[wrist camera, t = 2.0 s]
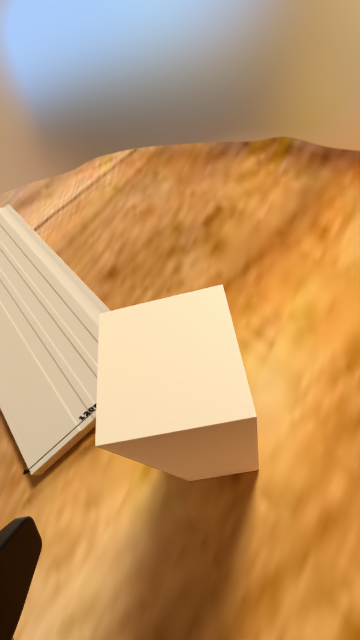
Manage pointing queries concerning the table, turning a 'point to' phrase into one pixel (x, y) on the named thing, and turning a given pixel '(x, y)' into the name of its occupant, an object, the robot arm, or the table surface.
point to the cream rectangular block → (176, 387)
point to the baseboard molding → (44, 346)
